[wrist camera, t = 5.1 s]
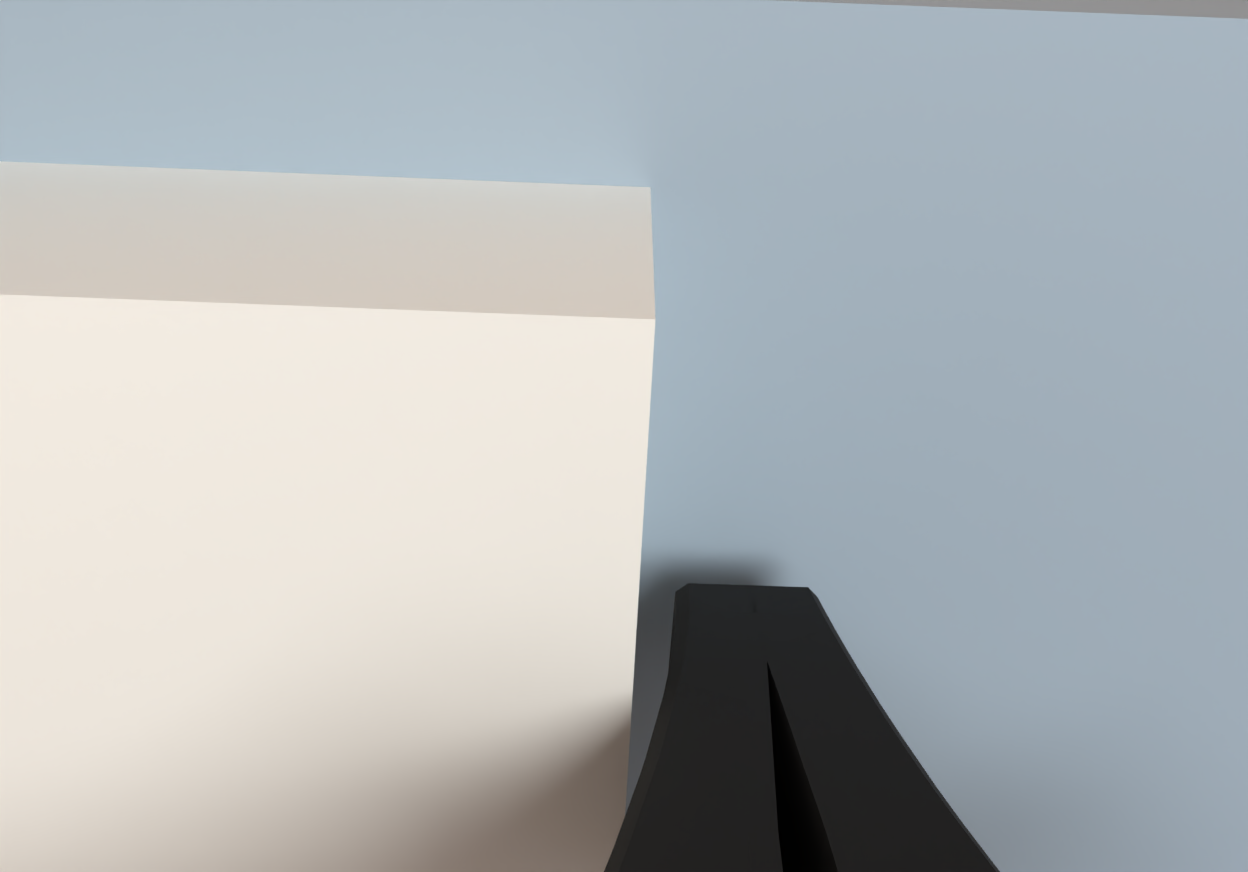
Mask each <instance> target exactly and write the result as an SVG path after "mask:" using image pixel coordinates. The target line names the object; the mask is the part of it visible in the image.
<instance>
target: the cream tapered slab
mask: <svg viewBox="0 0 1248 872" xmlns="http://www.w3.org/2000/svg"><path fill="white" fill-rule="evenodd" d="M655 320H656V319H655V293H654V267H653V241H652V214H651V188H650V187H632V186H607V185H581V184H556V183H531V182H506V181H481V180H456V179H431V178H406V177H381V176H356V175H331V174H305V173H280V172H255V171H230V170H205V169H180V168H155V167H130V166H105V165H80V164H55V163H29V162H4V161H0V872H604V870H605V867H606V865H607V863H608V860H609V858H610V855H611V853H612V850H613V848H614V845H615V842H616V839H617V837H618V834H619V831H620V828H621V826H622V823H623V820H624V817H625V809H626V793H627V777H628V760H629V744H630V728H631V711H632V695H633V679H634V662H635V646H636V630H637V613H638V597H639V581H640V565H641V548H642V532H643V516H644V499H645V483H646V467H647V450H648V434H649V418H650V401H651V385H652V369H653V352H654V336H655Z"/></svg>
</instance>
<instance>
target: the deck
mask: <svg viewBox="0 0 1248 872" xmlns="http://www.w3.org/2000/svg"><path fill="white" fill-rule="evenodd" d="M0 161H4V162H29V163H55V164H80V165H105V166H130V167H155V168H180V169H205V170H230V171H255V172H280V173H305V174H331V175H356V176H381V177H406V178H431V179H456V180H481V181H506V182H531V183H556V184H581V185H607V186H632V187H650V188H651V214H652V241H653V267H654V293H655V319H656V320H655V336H654V352H653V369H652V385H651V401H650V418H649V434H648V450H647V467H646V483H645V499H644V516H643V532H642V548H641V565H640V581H639V597H638V613H637V630H636V646H635V662H634V679H633V695H632V711H631V728H630V744H629V760H628V777H627V793H626V809H625V815H626V812H627V809H628V806H629V804H630V801H631V798H632V795H633V793H634V790H635V787H636V784H637V782H638V779H639V776H640V773H641V770H642V767H643V764H644V761H645V758H646V754H647V751H648V747H649V744H650V740H651V737H652V733H653V730H654V726H655V723H656V719H657V716H658V712H659V708H660V705H661V701H662V698H663V694H664V690H665V685H666V680H667V676H668V669H669V657H670V646H671V635H672V623H673V612H674V601H675V592H676V591H677V590H679V589H680V588H681V587H683V586H684V585H686V584H687V583H699V584H728V585H758V586H788V587H809V589H810V590H811V591H812V592H813V593H814V594H815V595H816V596H817V597H818V599H819V601H820V602H821V604H822V606H823V608H824V610H825V612H826V614H827V615H828V617H829V619H830V621H831V623H832V624H833V626H834V628H835V630H836V631H837V633H838V635H839V637H840V638H841V640H842V642H843V644H844V645H845V647H846V649H847V650H848V652H849V654H850V655H851V657H852V659H853V660H854V662H855V664H856V666H857V667H858V669H859V670H860V672H861V674H862V675H863V677H864V678H865V680H866V682H867V683H868V685H869V687H870V688H871V690H872V691H873V693H874V695H875V696H876V698H877V699H878V701H879V703H880V704H881V706H882V707H883V709H884V710H885V712H886V713H887V715H888V716H889V718H890V719H891V721H892V723H893V724H894V726H895V727H896V729H897V730H898V732H899V733H900V734H901V736H902V737H903V739H904V740H905V742H906V743H907V745H908V746H909V748H910V749H911V750H912V752H913V753H914V755H915V756H916V758H917V759H918V761H919V762H920V764H921V765H922V767H923V768H924V769H925V771H926V772H927V774H928V775H929V777H930V778H931V780H932V781H933V783H934V784H935V785H936V787H937V788H938V790H939V791H940V792H941V794H942V795H943V797H944V798H945V799H946V801H947V802H948V803H949V805H950V806H951V808H952V809H953V810H954V812H955V813H956V814H957V816H958V817H959V819H960V820H961V821H962V823H963V824H964V825H965V827H966V828H967V829H968V830H969V832H970V833H971V834H972V836H973V837H974V838H975V840H976V841H977V842H978V844H979V845H980V846H981V847H982V849H983V850H984V851H985V853H986V854H987V855H988V857H989V858H990V859H991V861H992V862H993V863H994V864H995V866H996V867H997V868H998V870H999V871H1000V872H1248V0H0Z"/></svg>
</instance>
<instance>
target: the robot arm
mask: <svg viewBox="0 0 1248 872" xmlns="http://www.w3.org/2000/svg"><path fill="white" fill-rule="evenodd" d="M604 872H1000V871H999V870H998V868H997V867H996V866H995V864H994V863H993V862H992V861H991V859H990V858H989V857H988V855H987V854H986V853H985V851H984V850H983V849H982V847H981V846H980V845H979V844H978V842H977V841H976V840H975V838H974V837H973V836H972V834H971V833H970V832H969V830H968V829H967V828H966V827H965V825H964V824H963V823H962V821H961V820H960V819H959V817H958V816H957V814H956V813H955V812H954V810H953V809H952V808H951V806H950V805H949V803H948V802H947V801H946V799H945V798H944V797H943V795H942V794H941V792H940V791H939V790H938V788H937V787H936V785H935V784H934V783H933V781H932V780H931V778H930V777H929V775H928V774H927V772H926V771H925V769H924V768H923V767H922V765H921V764H920V762H919V761H918V759H917V758H916V756H915V755H914V753H913V752H912V750H911V749H910V748H909V746H908V745H907V743H906V742H905V740H904V739H903V737H902V736H901V734H900V733H899V732H898V730H897V729H896V727H895V726H894V724H893V723H892V721H891V719H890V718H889V716H888V715H887V713H886V712H885V710H884V709H883V707H882V706H881V704H880V703H879V701H878V699H877V698H876V696H875V695H874V693H873V691H872V690H871V688H870V687H869V685H868V683H867V682H866V680H865V678H864V677H863V675H862V674H861V672H860V670H859V669H858V667H857V666H856V664H855V662H854V660H853V659H852V657H851V655H850V654H849V652H848V650H847V649H846V647H845V645H844V644H843V642H842V640H841V638H840V637H839V635H838V633H837V631H836V630H835V628H834V626H833V624H832V623H831V621H830V619H829V617H828V615H827V614H826V612H825V610H824V608H823V606H822V604H821V602H820V601H819V599H818V597H817V596H816V595H815V594H814V593H813V592H812V591H811V590H810V589H809V587H788V586H758V585H728V584H699V583H687V584H686V585H684V586H683V587H681V588H680V589H679V590H677V591H676V592H675V601H674V612H673V623H672V635H671V646H670V657H669V669H668V676H667V680H666V685H665V690H664V694H663V698H662V701H661V705H660V708H659V712H658V716H657V719H656V723H655V726H654V730H653V733H652V737H651V740H650V744H649V747H648V751H647V754H646V758H645V761H644V764H643V767H642V770H641V773H640V776H639V779H638V782H637V784H636V787H635V790H634V793H633V795H632V798H631V801H630V804H629V806H628V809H627V812H626V815H625V817H624V820H623V823H622V826H621V828H620V831H619V834H618V837H617V839H616V842H615V845H614V848H613V850H612V853H611V855H610V858H609V860H608V863H607V865H606V867H605V870H604Z"/></svg>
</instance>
